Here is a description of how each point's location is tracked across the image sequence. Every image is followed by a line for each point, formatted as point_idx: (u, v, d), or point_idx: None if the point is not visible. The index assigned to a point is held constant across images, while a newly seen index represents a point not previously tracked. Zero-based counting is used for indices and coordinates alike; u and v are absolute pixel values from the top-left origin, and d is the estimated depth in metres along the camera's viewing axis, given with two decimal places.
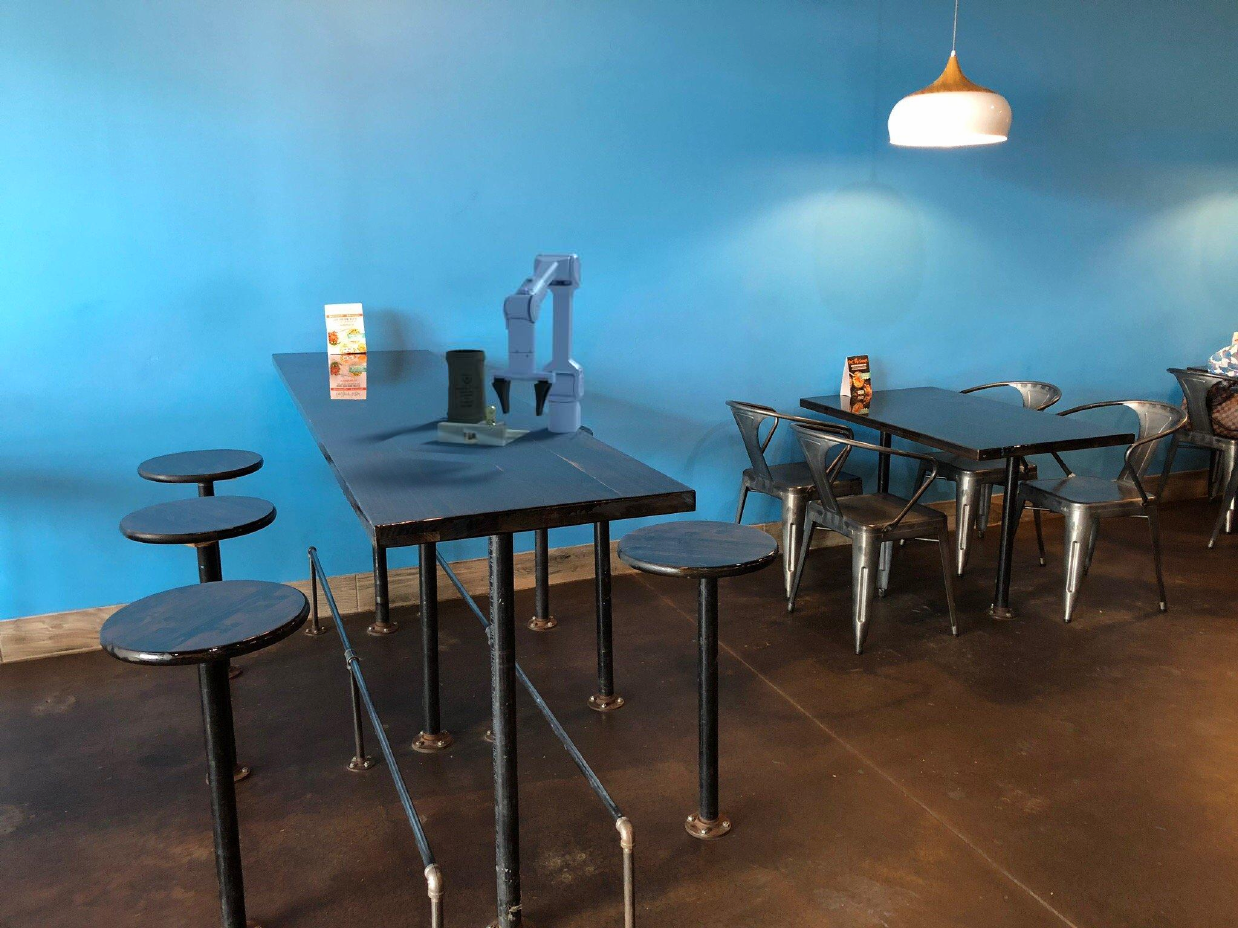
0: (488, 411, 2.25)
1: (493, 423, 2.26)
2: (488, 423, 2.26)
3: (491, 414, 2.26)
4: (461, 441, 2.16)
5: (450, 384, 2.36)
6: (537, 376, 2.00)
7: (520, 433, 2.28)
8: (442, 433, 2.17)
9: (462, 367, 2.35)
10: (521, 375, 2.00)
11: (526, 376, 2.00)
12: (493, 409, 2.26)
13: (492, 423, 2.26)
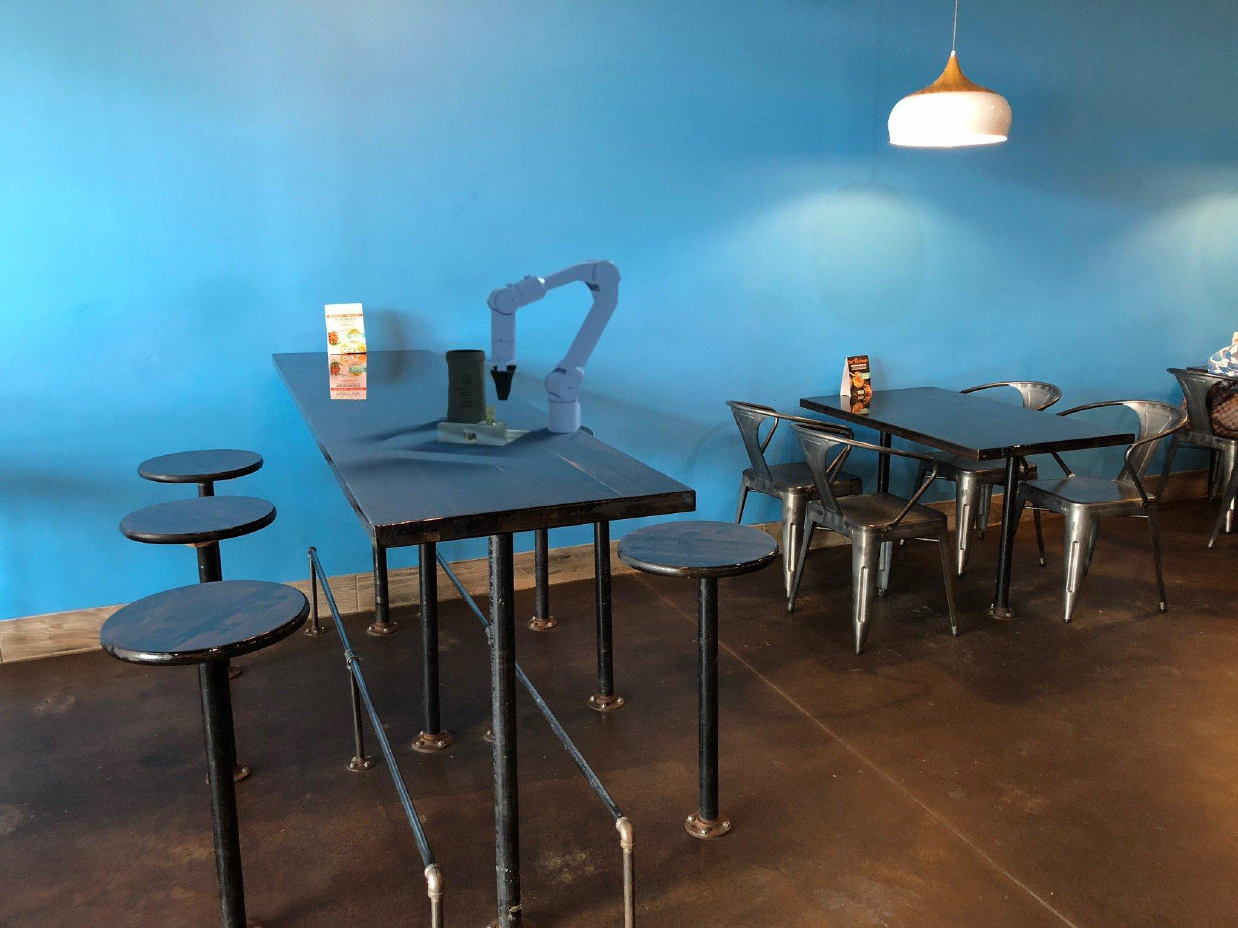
0: (488, 411, 2.25)
1: (493, 423, 2.26)
2: (488, 423, 2.26)
3: (491, 414, 2.26)
4: (461, 441, 2.16)
5: (450, 384, 2.36)
6: (495, 363, 2.19)
7: (520, 433, 2.28)
8: (442, 433, 2.17)
9: (462, 367, 2.35)
10: (489, 360, 2.21)
11: (492, 362, 2.21)
12: (493, 409, 2.26)
13: (492, 423, 2.26)
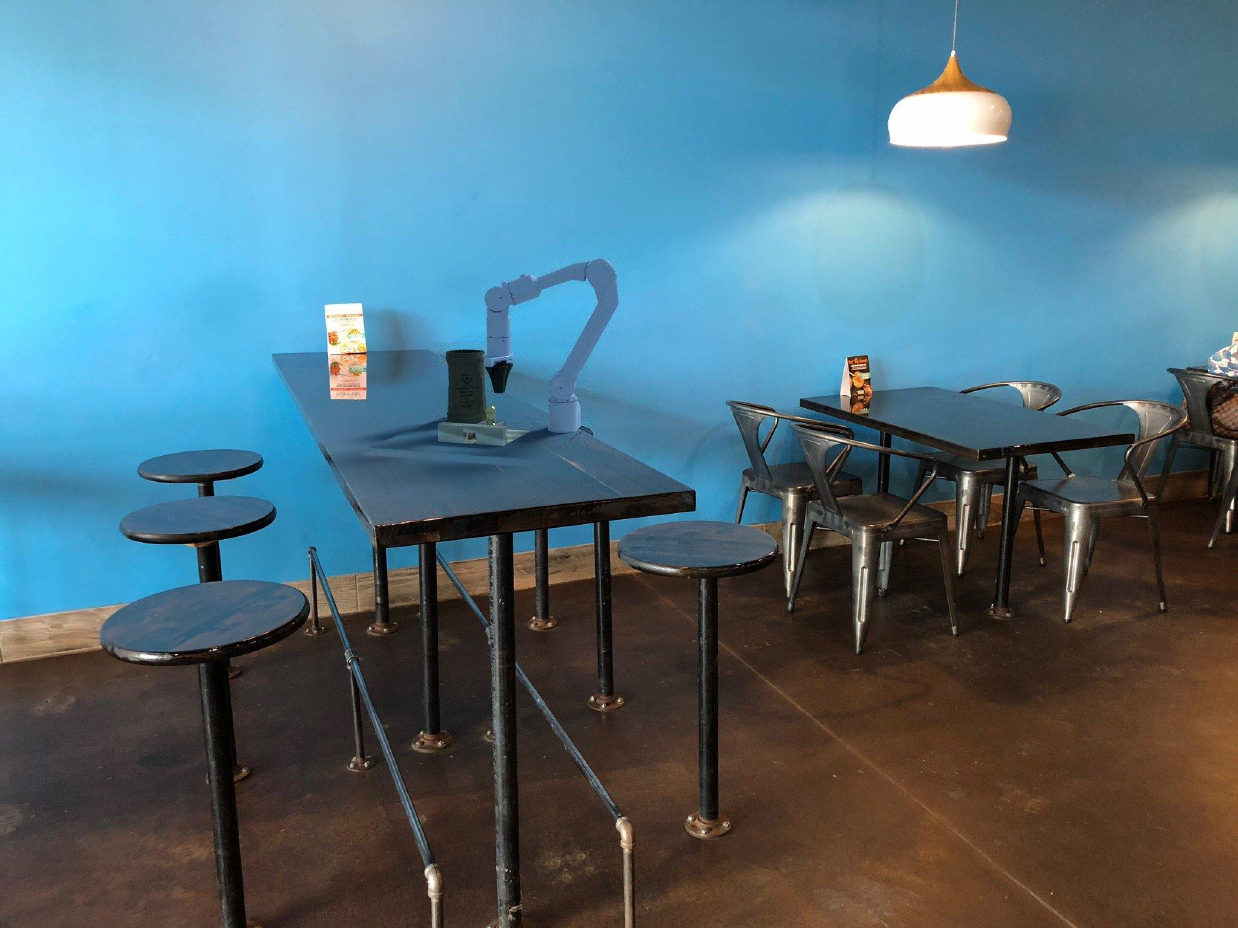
0: (488, 411, 2.25)
1: (493, 423, 2.26)
2: (488, 423, 2.26)
3: (491, 414, 2.26)
4: (461, 441, 2.16)
5: (450, 384, 2.36)
6: None
7: (520, 433, 2.28)
8: (442, 433, 2.17)
9: (462, 367, 2.35)
10: (484, 356, 2.29)
11: (486, 357, 2.28)
12: (493, 409, 2.26)
13: (492, 423, 2.26)
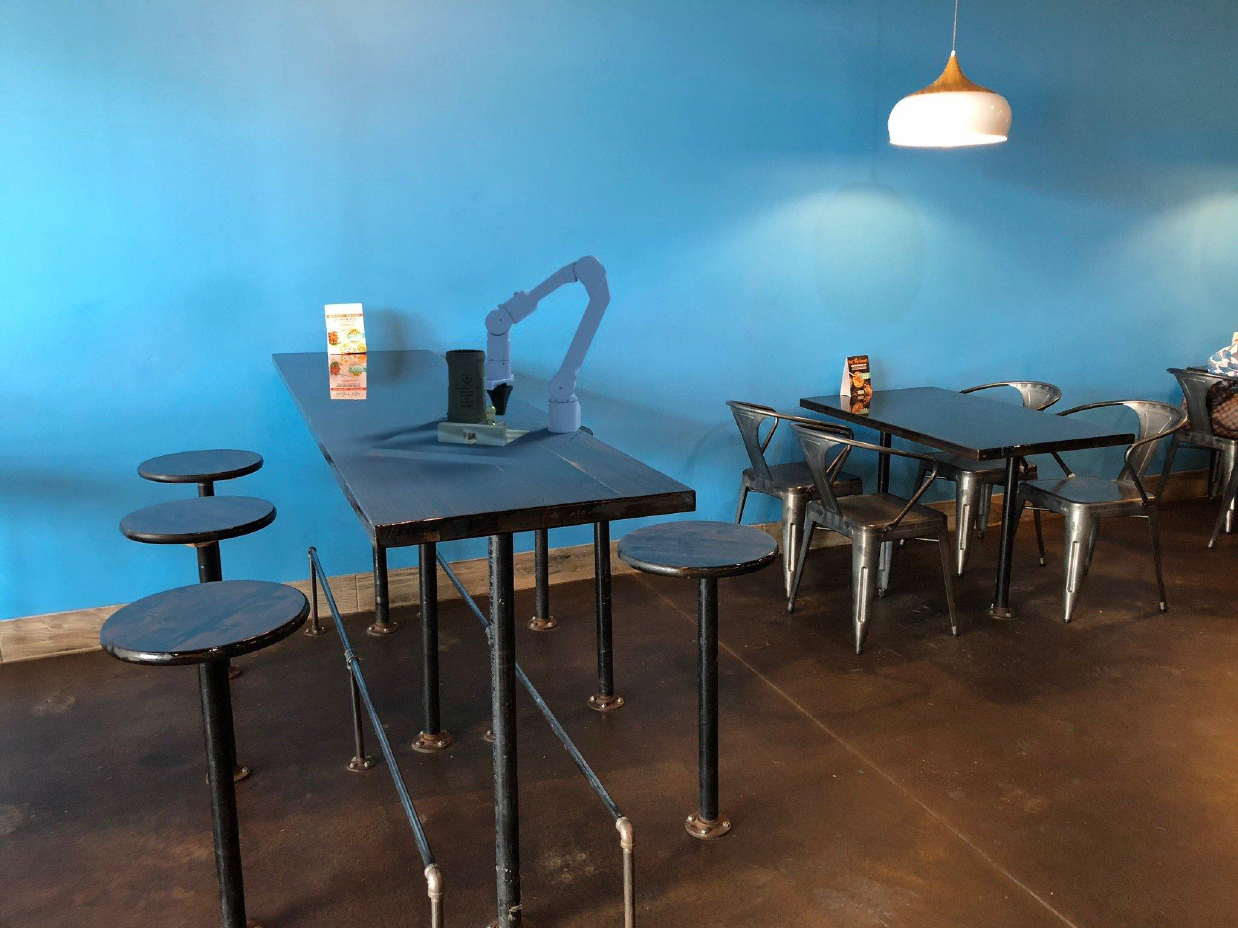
0: (488, 411, 2.25)
1: (493, 423, 2.26)
2: (488, 423, 2.26)
3: (491, 414, 2.26)
4: (461, 441, 2.16)
5: (450, 384, 2.36)
6: (486, 382, 2.27)
7: (520, 433, 2.28)
8: (442, 433, 2.17)
9: (462, 367, 2.35)
10: (485, 378, 2.30)
11: None
12: (493, 409, 2.26)
13: (492, 423, 2.26)
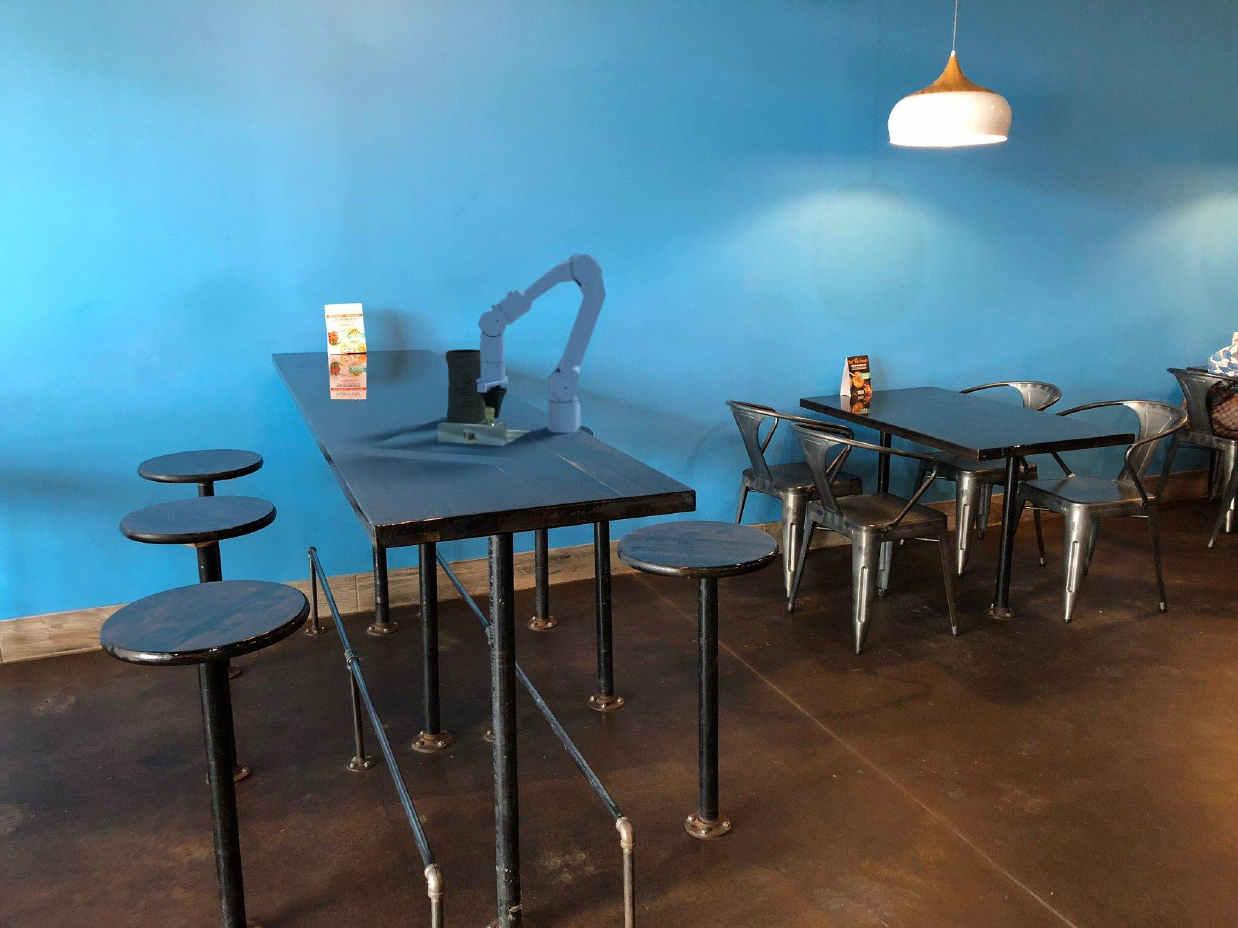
0: (487, 411, 2.25)
1: (492, 423, 2.26)
2: (487, 423, 2.26)
3: (490, 414, 2.25)
4: (461, 441, 2.16)
5: (450, 384, 2.36)
6: None
7: (520, 433, 2.28)
8: (442, 433, 2.17)
9: (462, 367, 2.35)
10: (478, 381, 2.26)
11: (480, 382, 2.25)
12: (492, 409, 2.25)
13: (491, 423, 2.26)
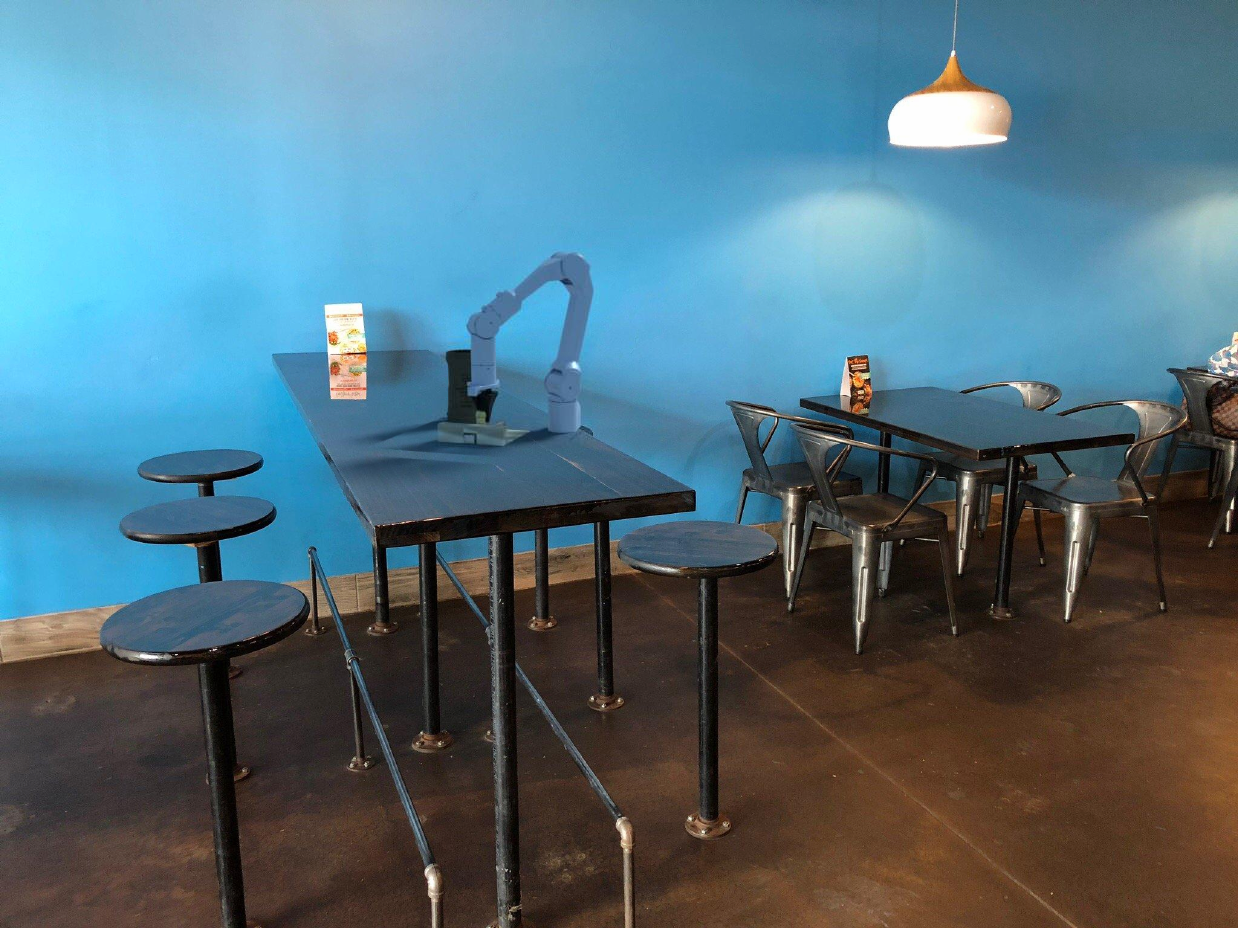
0: (478, 415, 2.20)
1: None
2: None
3: (481, 418, 2.20)
4: (461, 441, 2.16)
5: (450, 384, 2.36)
6: None
7: (520, 433, 2.28)
8: (442, 433, 2.17)
9: (462, 367, 2.35)
10: (469, 384, 2.21)
11: (470, 386, 2.20)
12: (483, 413, 2.20)
13: None
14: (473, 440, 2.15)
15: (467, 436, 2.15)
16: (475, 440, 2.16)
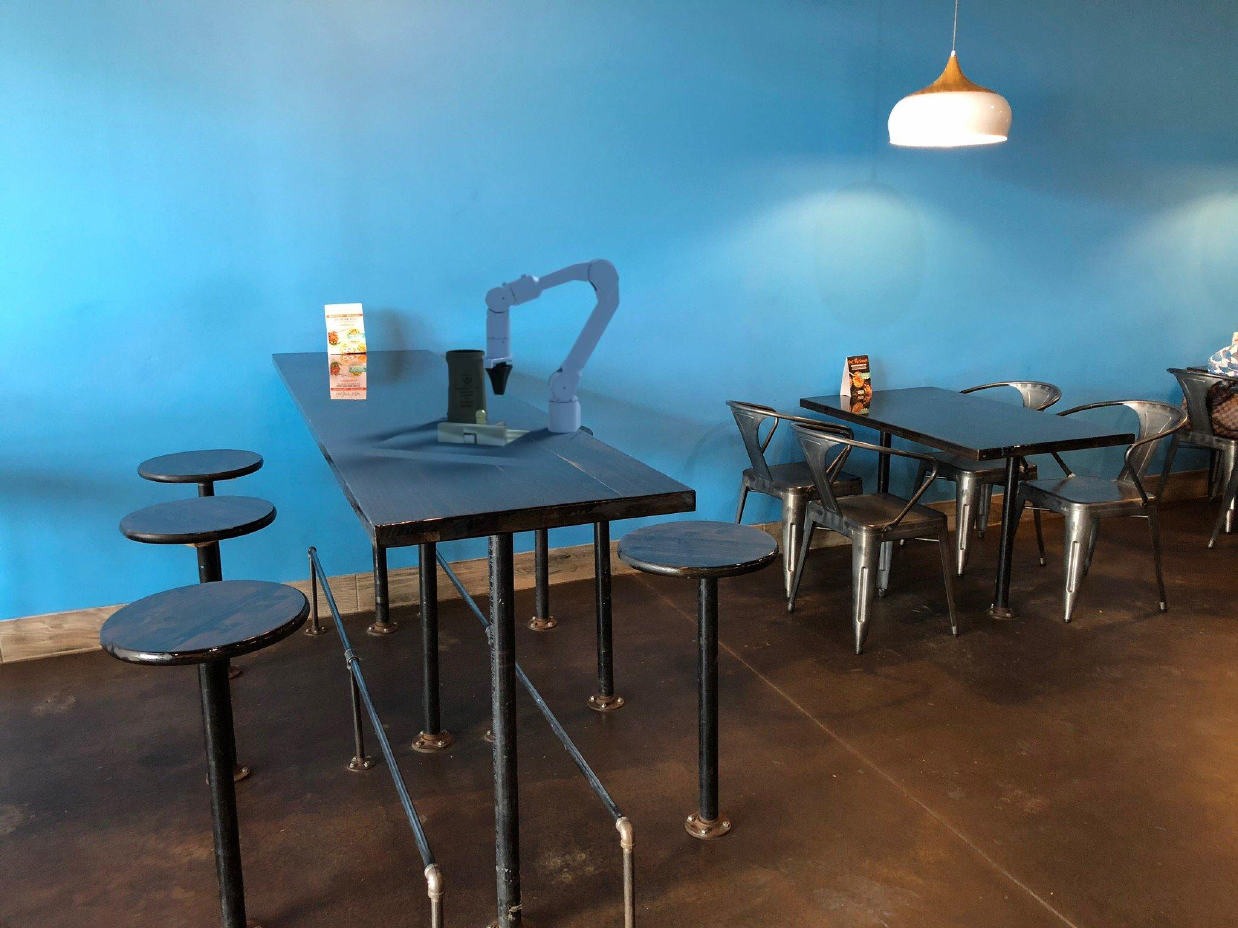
0: (478, 415, 2.20)
1: None
2: None
3: (481, 418, 2.20)
4: (461, 441, 2.16)
5: (450, 384, 2.36)
6: None
7: (520, 433, 2.28)
8: (442, 433, 2.17)
9: (462, 367, 2.35)
10: (484, 357, 2.26)
11: None
12: (483, 413, 2.20)
13: None
14: (473, 440, 2.15)
15: (467, 436, 2.15)
16: (475, 440, 2.16)
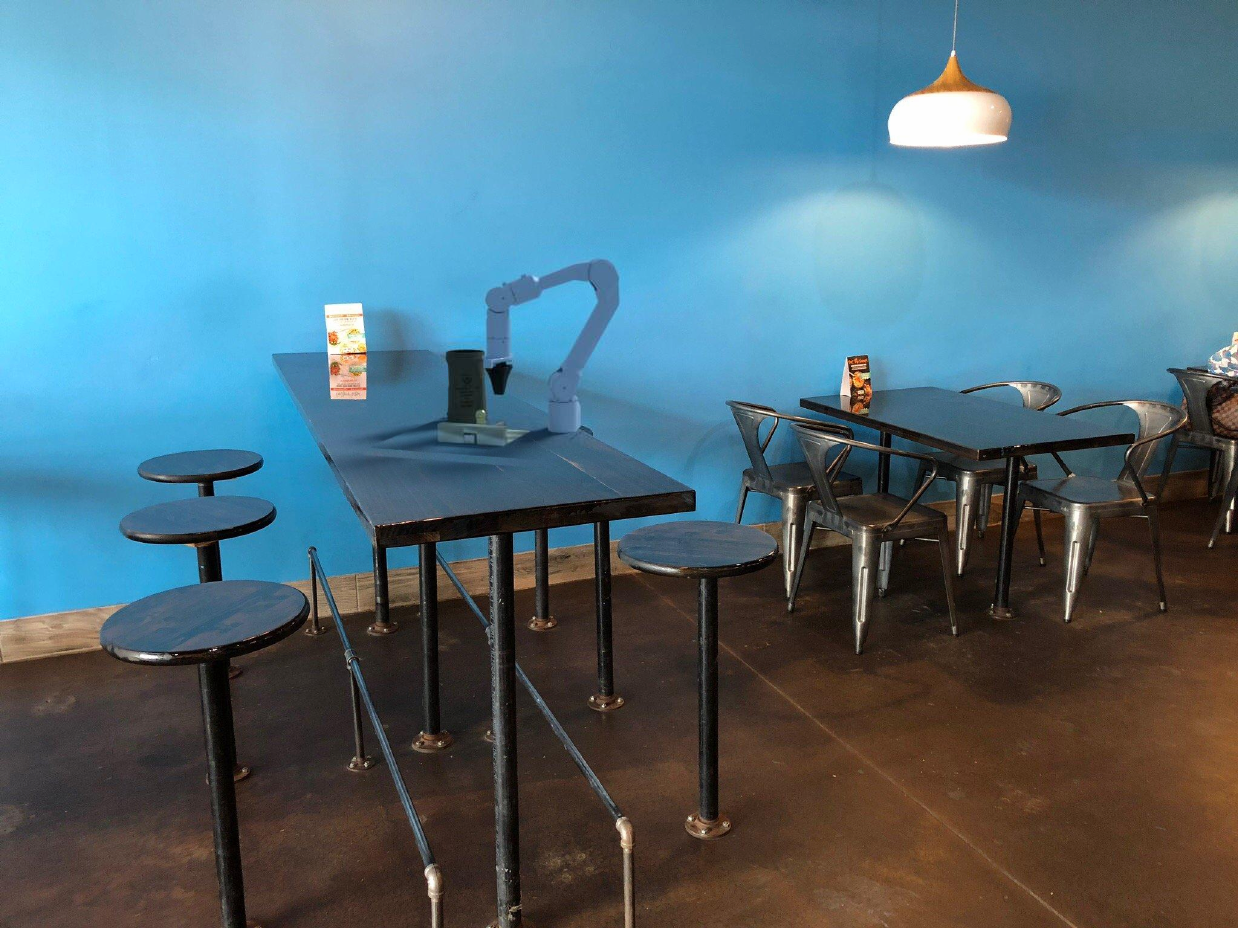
0: (478, 415, 2.20)
1: None
2: None
3: (481, 418, 2.20)
4: (461, 441, 2.16)
5: (450, 384, 2.36)
6: None
7: (520, 433, 2.28)
8: (442, 433, 2.17)
9: (462, 367, 2.35)
10: (484, 357, 2.26)
11: None
12: (483, 413, 2.20)
13: None
14: (473, 440, 2.15)
15: (467, 436, 2.15)
16: (475, 440, 2.16)
